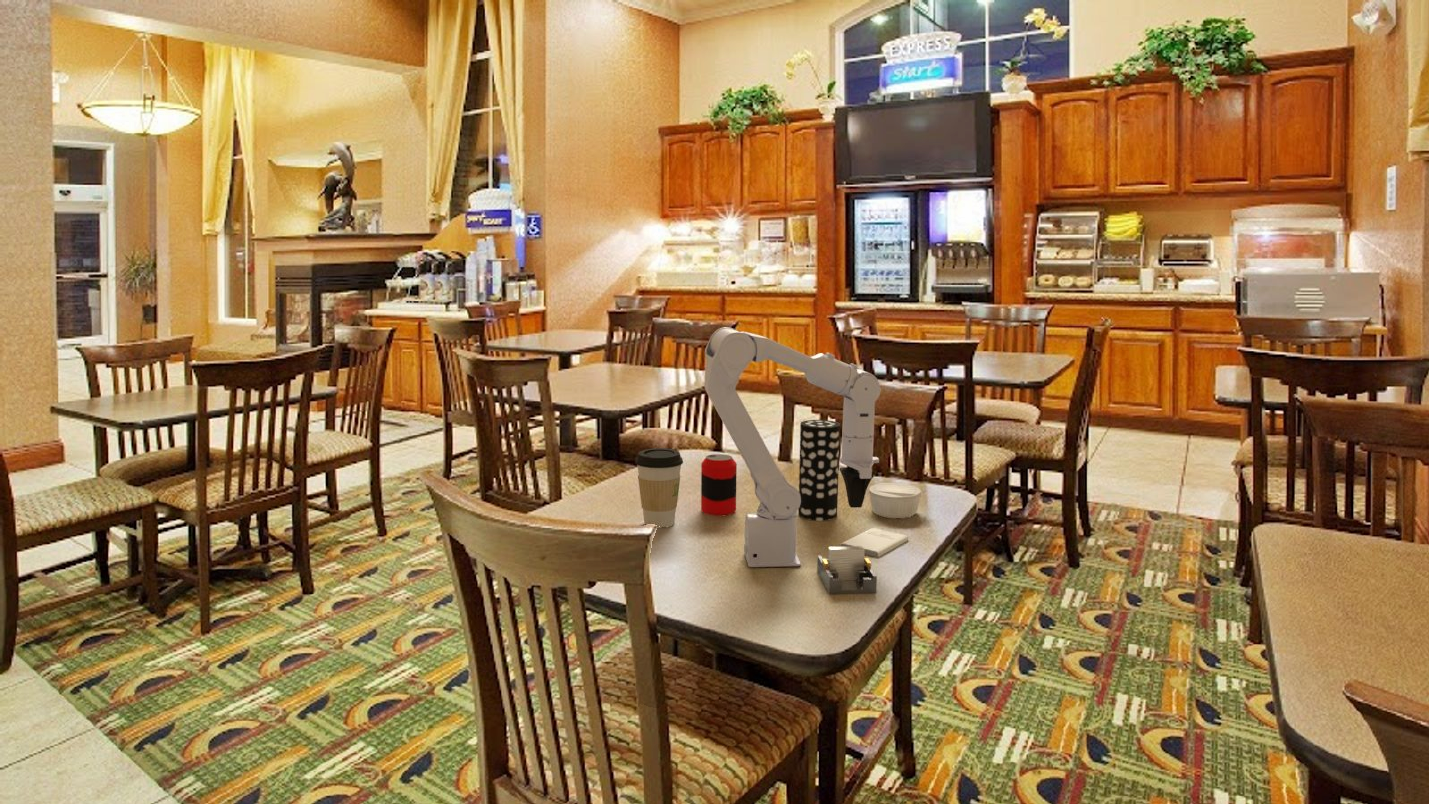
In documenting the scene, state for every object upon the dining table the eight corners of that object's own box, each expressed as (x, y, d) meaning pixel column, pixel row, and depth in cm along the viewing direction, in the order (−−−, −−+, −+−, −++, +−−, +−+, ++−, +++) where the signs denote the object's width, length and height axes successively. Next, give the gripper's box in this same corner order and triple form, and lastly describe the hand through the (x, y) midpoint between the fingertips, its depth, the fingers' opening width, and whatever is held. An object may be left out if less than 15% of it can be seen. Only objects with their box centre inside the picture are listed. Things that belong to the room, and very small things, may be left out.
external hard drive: (839, 550, 175) (871, 534, 185) (877, 560, 170) (908, 542, 180) (840, 542, 175) (871, 526, 185) (878, 551, 170) (908, 535, 180)
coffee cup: (692, 521, 191) (692, 451, 188) (664, 534, 182) (664, 461, 180) (654, 513, 196) (654, 445, 193) (625, 525, 188) (625, 454, 185)
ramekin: (879, 522, 192) (880, 497, 191) (860, 506, 202) (861, 483, 201) (929, 519, 194) (930, 495, 193) (907, 504, 205) (908, 481, 204)
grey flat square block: (829, 580, 157) (830, 549, 156) (827, 577, 158) (828, 546, 157) (863, 579, 157) (864, 549, 156) (861, 576, 159) (862, 546, 158)
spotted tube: (839, 521, 192) (842, 428, 188) (799, 520, 192) (802, 427, 188) (834, 509, 200) (837, 420, 196) (796, 509, 200) (798, 419, 196)
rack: (829, 594, 152) (829, 572, 152) (817, 571, 163) (817, 551, 162) (876, 592, 153) (877, 571, 152) (861, 570, 163) (862, 550, 163)
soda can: (714, 504, 203) (714, 451, 201) (742, 510, 199) (743, 456, 197) (694, 512, 197) (694, 458, 195) (723, 518, 193) (723, 463, 191)
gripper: (889, 443, 161) (886, 517, 163) (869, 426, 175) (866, 495, 177) (850, 444, 160) (847, 518, 162) (833, 427, 174) (831, 495, 177)
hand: (855, 506), depth 170 cm, fingers closed
